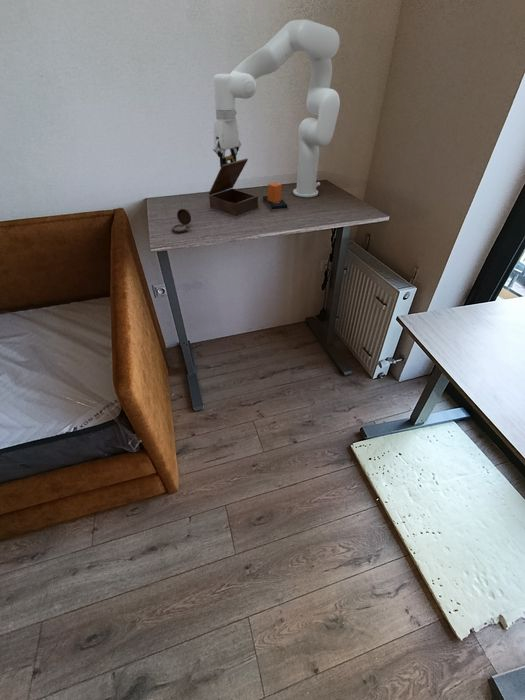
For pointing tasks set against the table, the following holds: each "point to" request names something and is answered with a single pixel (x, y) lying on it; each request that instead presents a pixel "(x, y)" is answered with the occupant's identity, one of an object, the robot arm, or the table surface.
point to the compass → (182, 221)
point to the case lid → (227, 175)
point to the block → (274, 192)
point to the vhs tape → (276, 205)
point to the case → (233, 202)
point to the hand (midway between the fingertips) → (228, 166)
